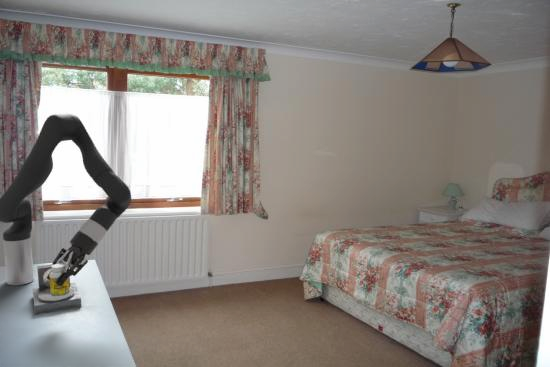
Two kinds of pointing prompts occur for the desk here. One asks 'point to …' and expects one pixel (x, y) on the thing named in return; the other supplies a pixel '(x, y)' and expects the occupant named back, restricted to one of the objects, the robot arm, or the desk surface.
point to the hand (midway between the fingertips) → (53, 282)
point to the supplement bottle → (56, 289)
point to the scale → (46, 301)
